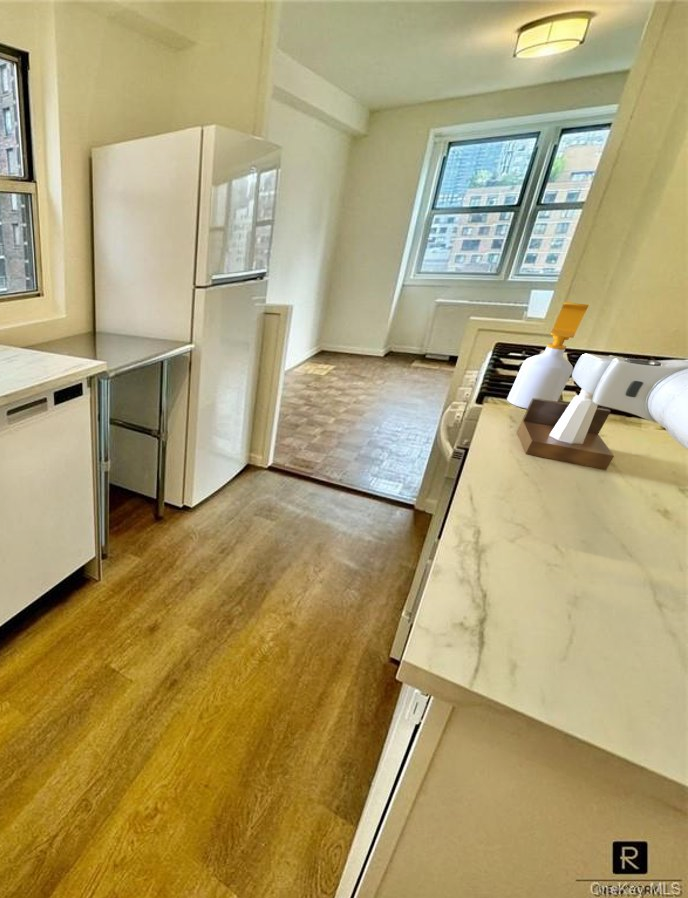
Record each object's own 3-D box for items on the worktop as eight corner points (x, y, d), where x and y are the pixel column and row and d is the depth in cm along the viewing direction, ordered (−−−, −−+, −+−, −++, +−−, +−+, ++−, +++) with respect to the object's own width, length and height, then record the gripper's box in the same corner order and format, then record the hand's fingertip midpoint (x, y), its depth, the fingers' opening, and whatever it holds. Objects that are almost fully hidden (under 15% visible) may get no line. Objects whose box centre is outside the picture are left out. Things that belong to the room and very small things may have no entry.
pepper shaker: (589, 446, 93) (619, 393, 87) (553, 441, 95) (581, 388, 89) (578, 435, 97) (606, 383, 92) (544, 430, 99) (569, 379, 94)
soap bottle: (503, 404, 119) (548, 302, 107) (509, 395, 124) (552, 297, 113) (551, 415, 113) (604, 308, 102) (555, 404, 119) (605, 302, 107)
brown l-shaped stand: (589, 444, 100) (609, 409, 96) (606, 469, 91) (628, 431, 87) (516, 431, 105) (532, 397, 101) (525, 453, 96) (543, 417, 92)
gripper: (836, 386, 56) (772, 356, 67) (600, 358, 66) (576, 336, 76) (799, 434, 59) (743, 398, 69) (578, 401, 69) (558, 374, 79)
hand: (654, 365), depth 73 cm, fingers open, 8 cm apart
